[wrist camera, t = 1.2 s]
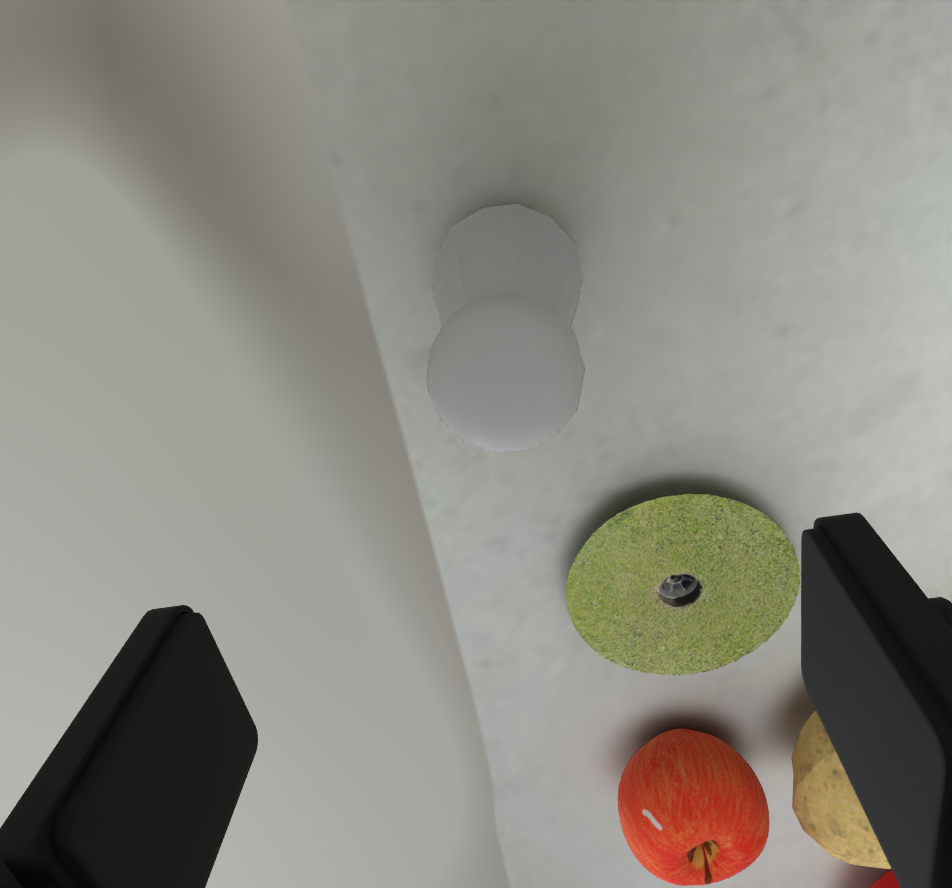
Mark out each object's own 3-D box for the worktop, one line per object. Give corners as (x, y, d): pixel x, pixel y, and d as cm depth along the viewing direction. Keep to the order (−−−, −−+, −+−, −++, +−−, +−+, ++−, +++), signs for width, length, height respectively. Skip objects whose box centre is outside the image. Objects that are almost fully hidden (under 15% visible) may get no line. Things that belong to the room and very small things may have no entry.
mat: (532, 514, 36) (533, 537, 34) (760, 443, 33) (774, 463, 32) (601, 670, 41) (605, 697, 39) (805, 617, 38) (819, 644, 36)
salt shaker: (418, 219, 29) (358, 321, 18) (554, 172, 28) (583, 248, 17) (465, 348, 32) (439, 510, 20) (591, 310, 31) (639, 457, 19)
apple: (583, 757, 44) (596, 890, 37) (677, 683, 41) (711, 813, 34) (677, 811, 46) (707, 947, 39) (774, 745, 43) (826, 881, 36)
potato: (1027, 725, 41) (1159, 896, 33) (767, 759, 43) (828, 926, 35) (1046, 590, 37) (1204, 747, 28) (754, 635, 39) (821, 793, 31)
